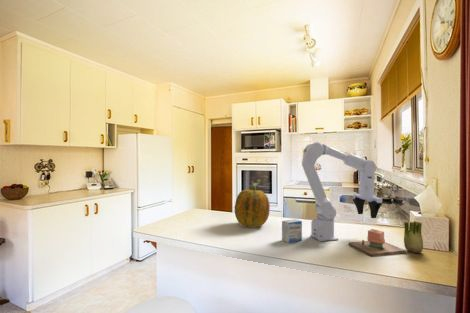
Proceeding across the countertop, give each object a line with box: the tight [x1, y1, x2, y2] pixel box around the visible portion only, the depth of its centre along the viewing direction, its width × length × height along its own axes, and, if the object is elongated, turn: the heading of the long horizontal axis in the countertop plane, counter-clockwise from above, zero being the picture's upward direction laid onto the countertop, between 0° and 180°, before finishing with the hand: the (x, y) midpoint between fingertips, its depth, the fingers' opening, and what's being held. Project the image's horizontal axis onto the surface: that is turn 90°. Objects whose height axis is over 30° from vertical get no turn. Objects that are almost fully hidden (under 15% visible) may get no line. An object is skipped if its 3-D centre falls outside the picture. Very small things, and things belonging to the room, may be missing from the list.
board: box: [348, 239, 407, 257], centre depth 92 cm, size 16×12×2 cm
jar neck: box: [369, 242, 383, 248], centre depth 92 cm, size 5×5×2 cm
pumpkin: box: [234, 178, 271, 228], centre depth 122 cm, size 19×19×25 cm
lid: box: [366, 228, 386, 244], centre depth 92 cm, size 6×6×4 cm
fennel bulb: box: [403, 220, 424, 254], centre depth 90 cm, size 6×5×12 cm
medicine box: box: [281, 218, 303, 244], centre depth 101 cm, size 8×4×9 cm, turn 117°
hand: (366, 215), depth 104 cm, fingers open, 7 cm apart
